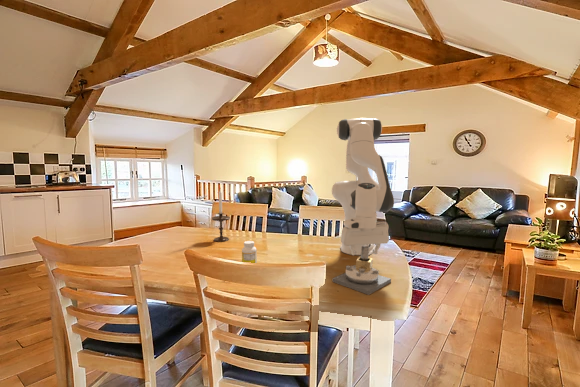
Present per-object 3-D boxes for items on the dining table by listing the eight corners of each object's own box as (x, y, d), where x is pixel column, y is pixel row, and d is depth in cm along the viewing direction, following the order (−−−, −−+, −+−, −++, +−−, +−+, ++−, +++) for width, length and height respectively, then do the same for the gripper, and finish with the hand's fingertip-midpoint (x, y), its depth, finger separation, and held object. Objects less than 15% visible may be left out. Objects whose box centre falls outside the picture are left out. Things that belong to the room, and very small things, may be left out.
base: (355, 271, 136) (355, 262, 136) (390, 282, 124) (391, 272, 123) (332, 281, 124) (332, 272, 124) (368, 294, 112) (369, 284, 112)
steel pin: (363, 265, 130) (363, 245, 129) (369, 267, 127) (370, 246, 126) (359, 267, 128) (359, 246, 127) (365, 269, 125) (366, 248, 124)
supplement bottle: (246, 266, 143) (245, 239, 141) (259, 267, 141) (258, 240, 139) (239, 271, 136) (239, 243, 135) (253, 272, 134) (252, 244, 133)
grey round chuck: (374, 286, 115) (375, 270, 114) (341, 280, 121) (342, 265, 120) (381, 274, 128) (381, 259, 127) (350, 269, 133) (351, 255, 133)
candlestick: (213, 243, 183) (212, 185, 179) (211, 238, 193) (210, 184, 189) (231, 241, 186) (230, 185, 183) (228, 237, 197) (227, 183, 193)
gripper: (385, 219, 130) (383, 250, 132) (339, 221, 127) (339, 253, 129) (392, 222, 124) (391, 255, 126) (345, 224, 121) (344, 258, 122)
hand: (364, 254), depth 127 cm, fingers open, 8 cm apart
